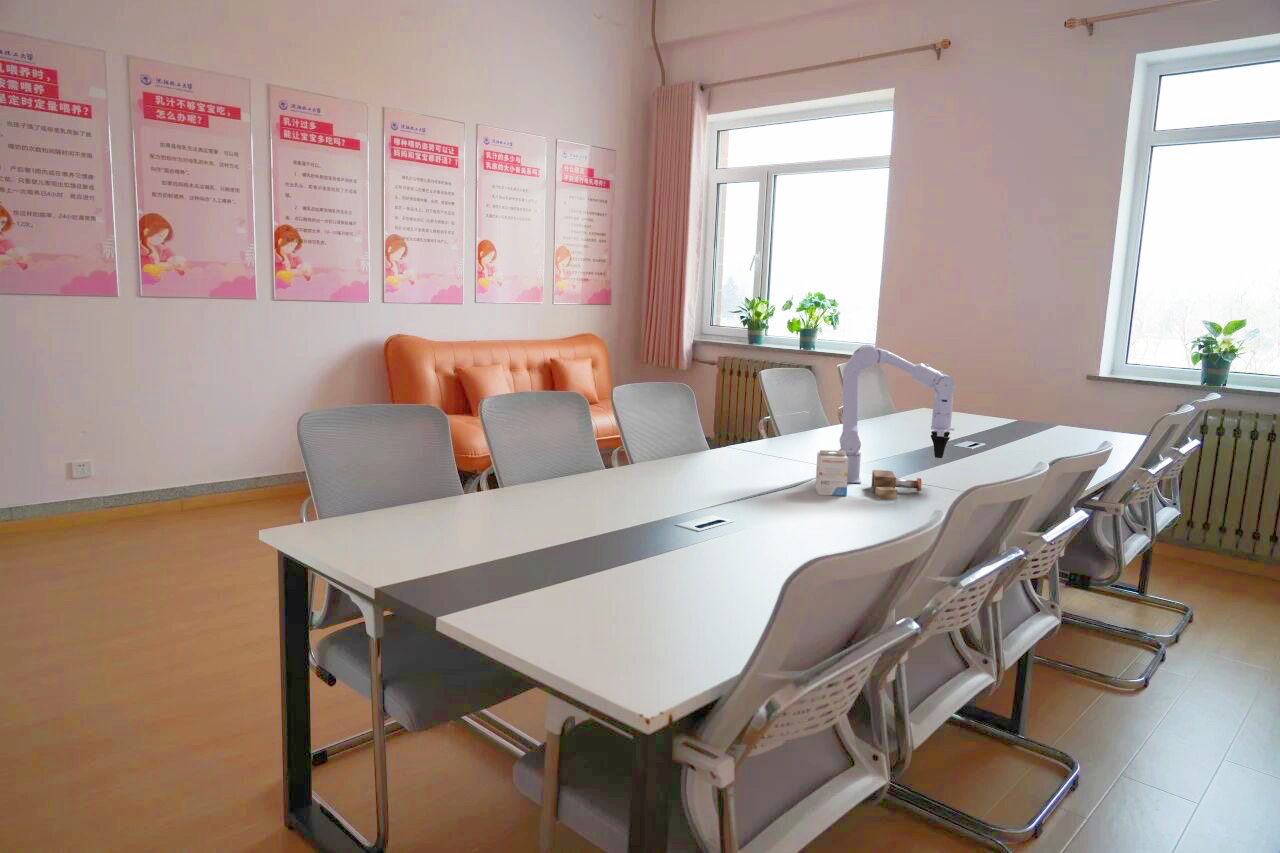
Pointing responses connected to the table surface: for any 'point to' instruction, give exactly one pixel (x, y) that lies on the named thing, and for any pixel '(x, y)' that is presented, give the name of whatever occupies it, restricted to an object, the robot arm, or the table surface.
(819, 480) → the ink box
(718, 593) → the table surface
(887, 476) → the block
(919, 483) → the pin
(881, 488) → the block
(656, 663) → the table surface
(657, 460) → the table surface
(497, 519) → the table surface
